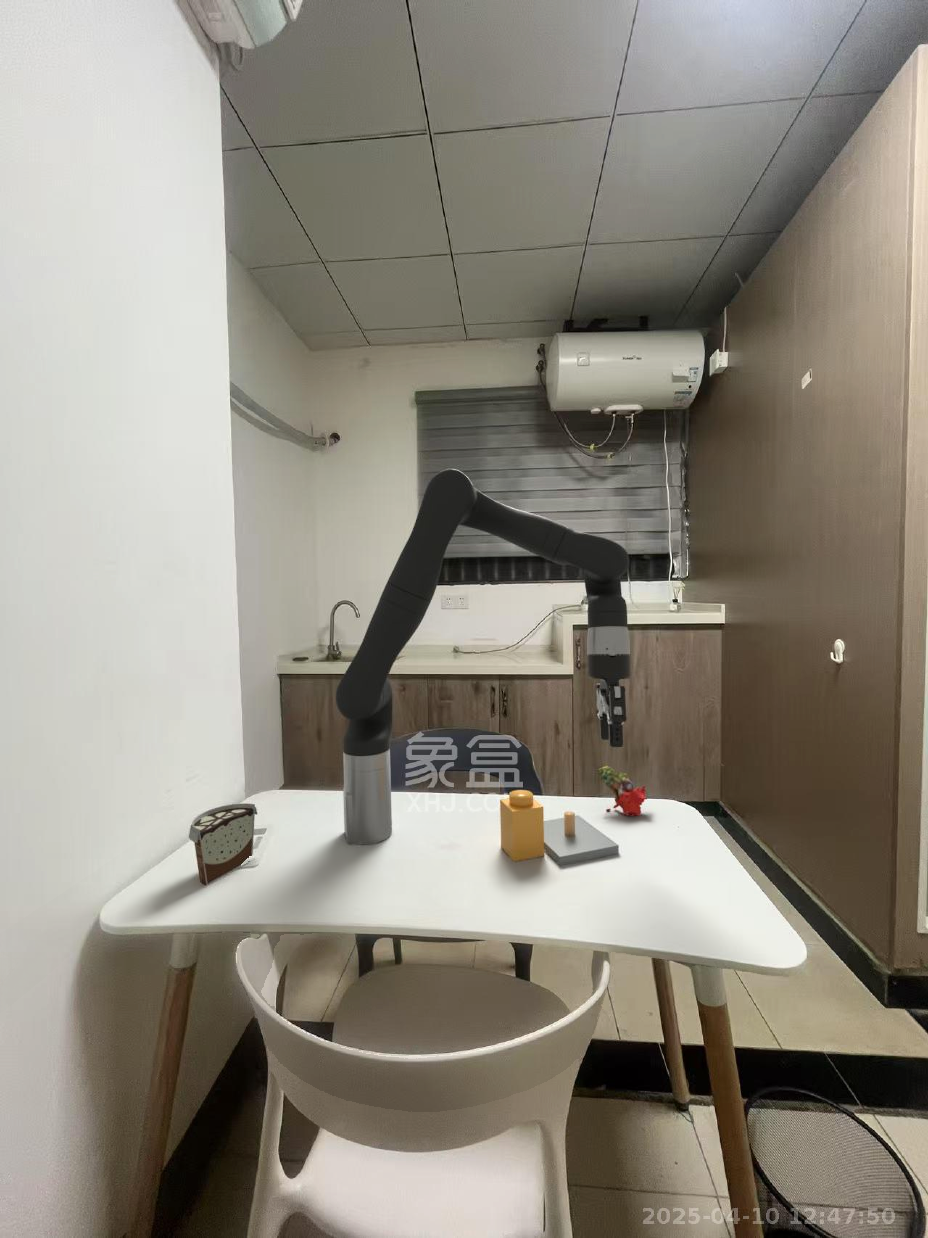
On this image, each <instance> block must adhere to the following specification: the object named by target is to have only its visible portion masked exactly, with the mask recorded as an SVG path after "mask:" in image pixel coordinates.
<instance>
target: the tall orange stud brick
mask: <svg viewBox="0 0 928 1238" xmlns="http://www.w3.org/2000/svg"><path fill="white" fill-rule="evenodd" d="M499 804H500V805H499V807H500V809H499V810H500V816H499V817H500V847H501V848H502V849H503V850H504V852H505V853H506V854H507V855H508V857H509V858H510V859H511V860H512V861H513V862H518V861H525V860H528V859H534V858H538V857H539V858H540V857H544V856H545V850H544V821H545V818H544V816H545V815H544V806H543V805H542V804H541V803H540V802H538V801H537V800H536V799H535V798H534V794H533V792H531V791H530V790H526V789H524V790H523V789H516V790H512V791H510V792H509V793H508V797H507V798H500V799H499Z"/></svg>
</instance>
